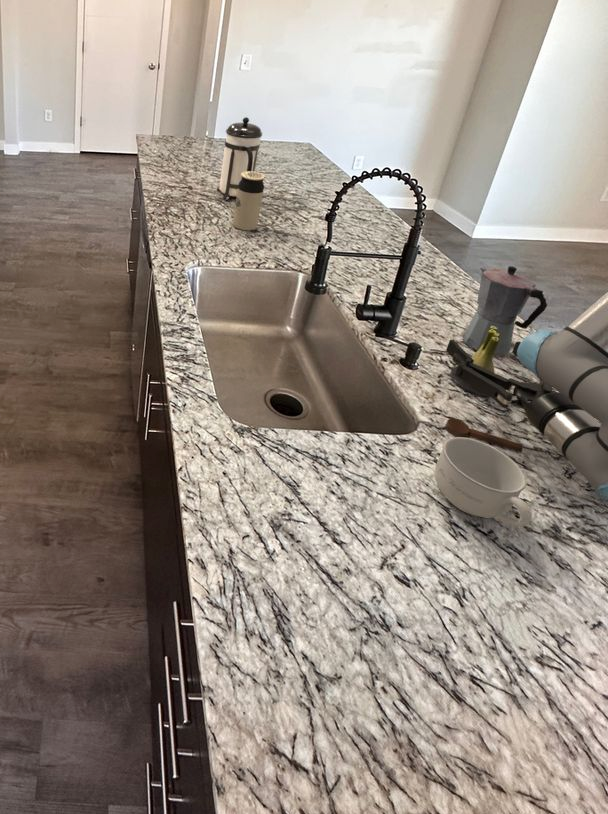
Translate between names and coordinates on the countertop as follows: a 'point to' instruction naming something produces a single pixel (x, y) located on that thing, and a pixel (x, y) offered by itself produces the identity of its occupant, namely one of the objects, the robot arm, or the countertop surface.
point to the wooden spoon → (479, 435)
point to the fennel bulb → (487, 350)
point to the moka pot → (501, 307)
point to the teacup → (481, 480)
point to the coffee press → (239, 155)
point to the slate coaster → (465, 385)
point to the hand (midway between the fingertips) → (482, 346)
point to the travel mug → (248, 200)
